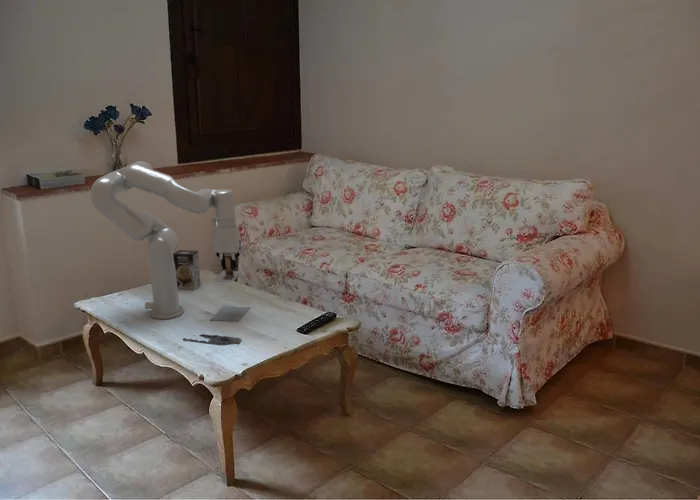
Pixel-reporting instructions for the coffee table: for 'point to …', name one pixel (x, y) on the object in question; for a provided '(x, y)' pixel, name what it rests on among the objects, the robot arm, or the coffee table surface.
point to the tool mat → (230, 314)
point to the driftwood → (218, 340)
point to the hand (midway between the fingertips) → (229, 268)
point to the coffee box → (187, 269)
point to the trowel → (227, 272)
